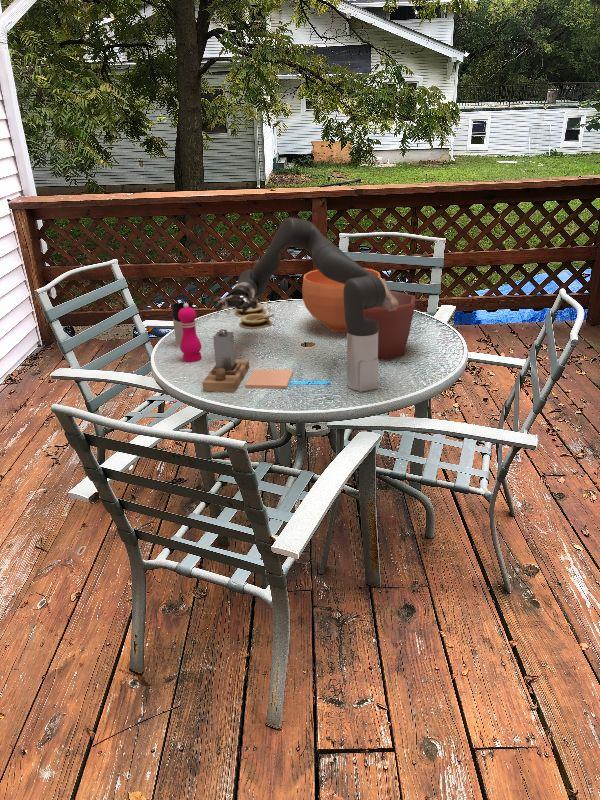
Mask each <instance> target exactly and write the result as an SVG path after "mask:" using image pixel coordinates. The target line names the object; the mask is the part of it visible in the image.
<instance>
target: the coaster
mask: <svg viewBox="0 0 600 800" xmlns="http://www.w3.org/2000/svg"><path fill="white" fill-rule="evenodd" d="M293 372H294V369H258V368H256V369H253V371H252V372H251V374H250V375H249V378H248V379H247V381H246V383H245V385H244V386H245V389H276V388H287V389H288V387H289V385H290V383H289V381H290V382H291V380H292V378H293V375H294V373H293ZM291 377H292V378H291ZM290 379H291V380H290ZM288 384H289V385H288ZM287 386H288V387H287Z"/></svg>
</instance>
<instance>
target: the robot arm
mask: <svg viewBox="0 0 600 800" xmlns="http://www.w3.org/2000/svg"><path fill="white" fill-rule="evenodd" d="M286 247H291V248H298V249H303V250H306V251H308V253H310V254H311V262H312V265H313V266H314V267H315V270H319V271H320V272H321V273H322V274H323V275H324V276H325V277H327V278H329V279H331V280H333V281H336V282H340V283H343V284H345V285H344V293H343V295H344V311H345V322H346V326H347V332H346V373H347V375H346V376H347V377H346V378H347V379H346V382H347V384H346V385H347V387H348V388H349V389H350V390H352V391H358V392H360V393H362V392H366V391H372V390H377V389H379V370H380V369H379V365H380V364H379V363H380V361H379V359H378V322H377V321H376V320H374V319H371V318H366V317H364V313H363V310H364V309H369V308H374V307H377V306H379V305H381V304H382V303H383V302H384V301H385V298H386V290H385V287H384V284H383V283H382V281H381V280H380V279H379V278H378V277H377V276H376V275H374V274H373V273H371V272H369V271H368V270H366V269H364V268H365V267H362V266H361V265H359V264H358V263H357V262H356V261H354V260H353V259H352V258H351V257H350V256H348V255H347V254H346V253H345V252H344V251H342V249H340V248H339V247H338V246H337V245H335V244H334V243H333V242H332V241H331V240H329V239H328V238H327V237H325V236H324V234H322V232H321V231H320V230H319V229H318V228H317V226H316V225H315V224H314V223H312V222H311V221H310V220H308V219H307V220H306V219H302V218H297V217H287V218H285V219H284V220H283V221H282V222H281V224H280V225H279V227H278V229H277V231H276V233H275V234H274V236H273V238H272V240H271V242H270V243H269V245H268V248H267V249H266V251H265V252H264V254H263V255H262V256H261V257H260V258H259V260H257V262H256V263H255V264H254V266H253V269H252V270H251V269H245V270H243V271H242V272H241V273H240V275H239V277H238V279H237V284H236V285H235V286H234V287H233V288H232V289H230V290H231V291H230V292H229V293H228V296H226V297H222V296H217V297H216V298H214V299H213V300H212V305H213V306H212V307H213V309H215V311H216V312H217V313H219V312H221V311H222V309H230V308H232V309H233V308H234V309H235V310H237V309H242V311H243V312H245V311H247V310H248V309H250V308H251V307H252V309H255V308H256V307H257V305H258V303H259V302H258V301H259V300H258V297H260V296H262V295H263V294H264V292H265V291H266V289H267V286H268V283H269V280H270V279H271V277H273V275H274V274H275V273H276V272H277V271H278V270H279V268H280V266H281V263H282V253H281V252H282V251H283V249H285V248H286Z"/></svg>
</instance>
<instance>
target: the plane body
mask: <svg viewBox="0 0 600 800" xmlns="http://www.w3.org/2000/svg"><path fill="white" fill-rule="evenodd" d="M235 361H236V367H235V369H234V370H233V371H225V369H224V368H218V369H216V364H215V365H214V366H213V367H212V368H211V370H210V372H209V373H208V374H207V376H206V377H205V378H204V379H203V381H202V391H203V392H206V391H227V392H226V393H236V392H237V390H238V388H239V387H238V386H241V383H242V382H243V380H244V378H245V377H244V376H246V375H247V373H248V371H249V370H248V369H250V359H236V358H235ZM245 374H246V375H245ZM241 381H242V382H241ZM235 391H236V392H235Z"/></svg>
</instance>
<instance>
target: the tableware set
mask: <svg viewBox="0 0 600 800" xmlns="http://www.w3.org/2000/svg"><path fill="white" fill-rule="evenodd" d="M267 311H268V312H269V313H271V312H272V309H271V307H268V306H267V307H266V309H265V308H264V304H262V303H259V302H258V305H257V307H256V308H255V309H252V307H251V308H250V309H248V310H247V311H245V312H243V311H242V309H236V311H234V315H235V316H236V317H240V321H241V322H239V324H238V325H239V326H238V327H240V328H242V329H245V330H259V329H260V330H261V329H265V328H268V327H269V326H271V325H272V324H273V322H272V321H271V319H270V318H272V317H275V313H272V314H269V315H268V314H267ZM230 313H231V312H230V310H227V311H226V314H227V315H229V314H230Z"/></svg>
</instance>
